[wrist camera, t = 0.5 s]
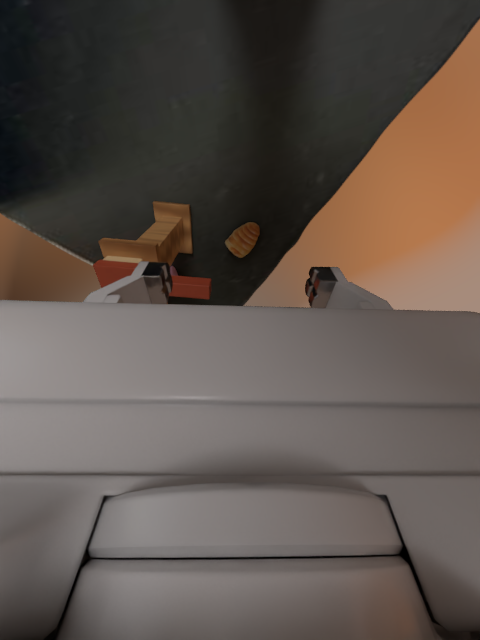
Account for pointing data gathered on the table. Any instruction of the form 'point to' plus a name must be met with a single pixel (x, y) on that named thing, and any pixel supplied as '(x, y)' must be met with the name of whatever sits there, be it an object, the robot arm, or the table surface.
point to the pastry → (243, 239)
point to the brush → (124, 266)
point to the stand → (157, 236)
